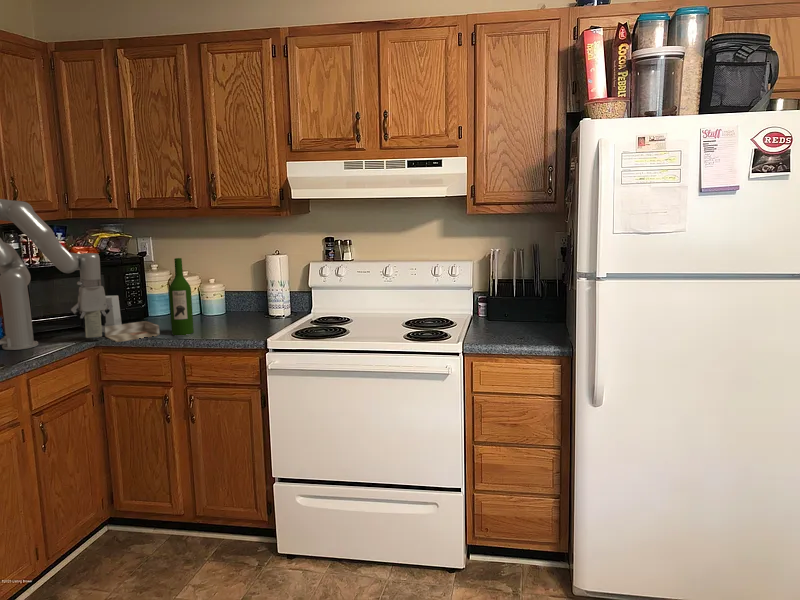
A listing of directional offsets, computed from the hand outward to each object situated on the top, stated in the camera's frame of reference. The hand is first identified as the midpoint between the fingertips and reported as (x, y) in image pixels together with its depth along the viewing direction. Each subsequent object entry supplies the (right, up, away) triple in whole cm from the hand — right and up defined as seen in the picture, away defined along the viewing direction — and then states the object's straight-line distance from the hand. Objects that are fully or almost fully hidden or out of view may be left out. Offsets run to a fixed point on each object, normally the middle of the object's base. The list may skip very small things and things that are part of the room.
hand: (93, 326), depth 280 cm
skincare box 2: (-2, -3, +21) cm, 21 cm away
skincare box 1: (0, -4, +1) cm, 5 cm away
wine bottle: (+33, -4, +13) cm, 36 cm away
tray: (+13, -5, +9) cm, 16 cm away
